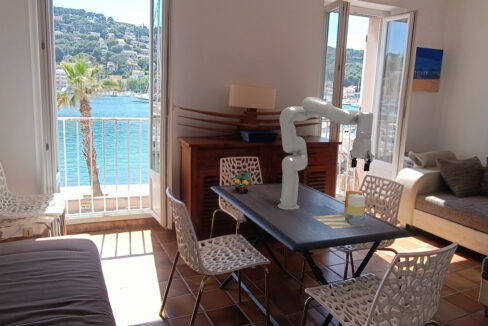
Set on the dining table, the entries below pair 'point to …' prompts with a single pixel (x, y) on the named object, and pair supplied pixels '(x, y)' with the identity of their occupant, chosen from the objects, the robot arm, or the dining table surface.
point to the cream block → (356, 200)
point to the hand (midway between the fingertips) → (359, 169)
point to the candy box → (348, 192)
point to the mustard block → (355, 210)
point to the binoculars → (245, 178)
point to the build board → (341, 220)
